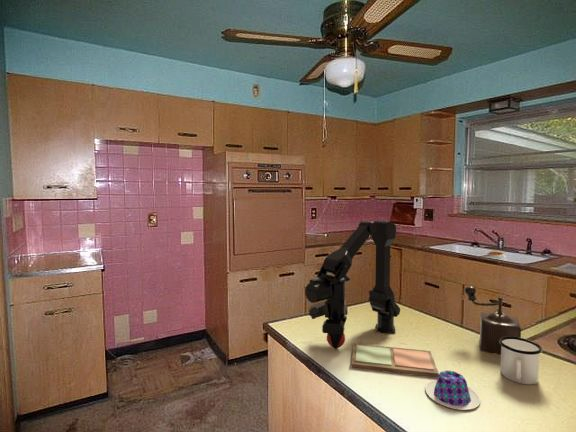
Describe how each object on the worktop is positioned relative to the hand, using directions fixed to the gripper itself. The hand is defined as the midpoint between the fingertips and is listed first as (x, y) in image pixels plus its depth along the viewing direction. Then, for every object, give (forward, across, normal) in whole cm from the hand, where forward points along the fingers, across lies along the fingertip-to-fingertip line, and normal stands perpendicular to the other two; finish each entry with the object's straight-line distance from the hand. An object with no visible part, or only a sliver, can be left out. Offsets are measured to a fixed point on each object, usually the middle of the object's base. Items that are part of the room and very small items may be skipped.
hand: (336, 344), depth 105 cm
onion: (+2, 0, 0) cm, 2 cm away
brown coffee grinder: (+2, -13, +48) cm, 50 cm away
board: (+2, +4, +17) cm, 18 cm away
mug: (+2, +6, +49) cm, 49 cm away
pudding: (+2, +18, +30) cm, 35 cm away
